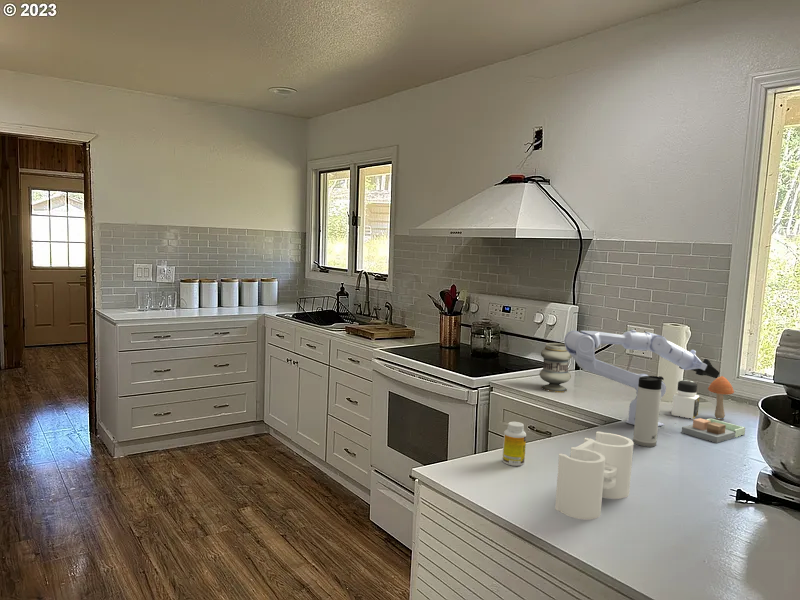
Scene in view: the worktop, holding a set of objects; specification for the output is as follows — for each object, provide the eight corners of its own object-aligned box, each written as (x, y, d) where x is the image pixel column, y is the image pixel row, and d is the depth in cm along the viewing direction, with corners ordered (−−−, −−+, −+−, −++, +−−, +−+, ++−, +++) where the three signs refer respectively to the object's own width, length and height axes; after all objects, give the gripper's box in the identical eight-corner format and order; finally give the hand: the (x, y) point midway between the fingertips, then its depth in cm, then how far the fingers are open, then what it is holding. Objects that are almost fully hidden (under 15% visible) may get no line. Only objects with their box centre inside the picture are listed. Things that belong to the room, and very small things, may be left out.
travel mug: (659, 448, 173) (665, 379, 171) (635, 445, 174) (641, 377, 172) (654, 441, 179) (661, 374, 177) (631, 439, 180) (637, 372, 178)
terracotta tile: (703, 430, 187) (704, 422, 187) (692, 427, 190) (693, 419, 189) (710, 428, 189) (711, 421, 189) (699, 425, 192) (700, 418, 192)
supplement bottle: (525, 467, 152) (528, 427, 151) (503, 465, 153) (506, 426, 152) (522, 459, 158) (525, 421, 157) (501, 458, 158) (503, 419, 157)
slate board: (716, 443, 181) (717, 437, 180) (681, 432, 190) (682, 426, 189) (735, 437, 187) (735, 432, 187) (700, 427, 196) (700, 422, 196)
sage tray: (735, 437, 187) (735, 430, 187) (700, 427, 196) (700, 420, 196) (744, 435, 190) (745, 427, 190) (709, 425, 199) (710, 418, 199)
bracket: (593, 525, 122) (598, 467, 121) (549, 509, 128) (553, 454, 127) (635, 490, 142) (640, 439, 140) (594, 478, 148) (599, 429, 147)
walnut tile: (718, 434, 183) (719, 426, 183) (706, 431, 186) (707, 423, 186) (724, 432, 185) (725, 425, 185) (713, 429, 188) (714, 421, 188)
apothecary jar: (532, 386, 243) (535, 342, 241) (556, 385, 248) (559, 341, 246) (551, 394, 232) (555, 347, 230) (576, 392, 237) (579, 346, 235)
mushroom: (704, 419, 206) (709, 376, 205) (705, 414, 213) (709, 372, 212) (731, 423, 203) (735, 379, 201) (730, 418, 210) (735, 375, 208)
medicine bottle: (693, 419, 206) (696, 384, 204) (671, 415, 210) (674, 381, 209) (697, 415, 211) (701, 381, 210) (676, 411, 216) (679, 378, 214)
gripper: (696, 347, 189) (730, 366, 191) (669, 340, 203) (701, 357, 206) (685, 368, 189) (720, 386, 191) (659, 358, 204) (692, 376, 206)
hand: (710, 372), depth 199 cm, fingers open, 7 cm apart
